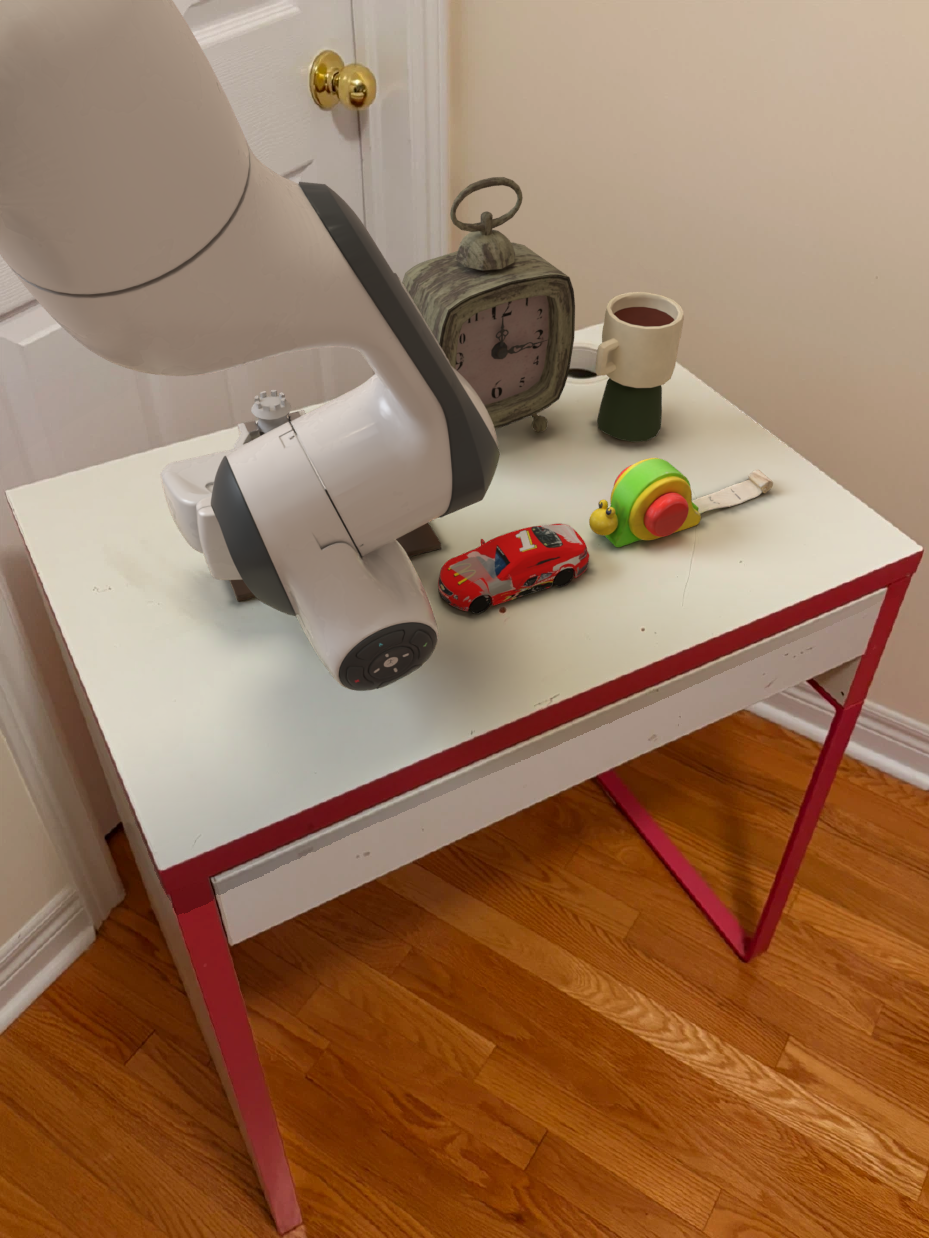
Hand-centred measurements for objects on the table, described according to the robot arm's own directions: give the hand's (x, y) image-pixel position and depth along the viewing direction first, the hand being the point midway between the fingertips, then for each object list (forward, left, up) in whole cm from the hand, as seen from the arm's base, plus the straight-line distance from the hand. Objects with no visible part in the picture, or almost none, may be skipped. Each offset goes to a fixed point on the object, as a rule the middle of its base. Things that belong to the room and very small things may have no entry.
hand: (271, 424), depth 88 cm
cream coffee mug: (+35, 0, -10) cm, 37 cm away
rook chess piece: (0, -1, -5) cm, 5 cm away
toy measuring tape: (+33, -14, -10) cm, 37 cm away
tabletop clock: (+21, +5, -10) cm, 24 cm away
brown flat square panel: (+2, -1, -9) cm, 10 cm away
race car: (+15, -16, -10) cm, 24 cm away
